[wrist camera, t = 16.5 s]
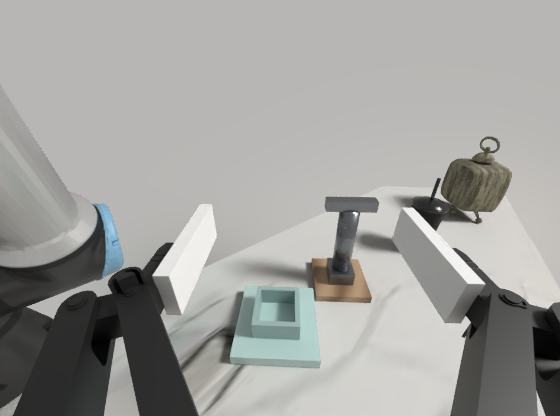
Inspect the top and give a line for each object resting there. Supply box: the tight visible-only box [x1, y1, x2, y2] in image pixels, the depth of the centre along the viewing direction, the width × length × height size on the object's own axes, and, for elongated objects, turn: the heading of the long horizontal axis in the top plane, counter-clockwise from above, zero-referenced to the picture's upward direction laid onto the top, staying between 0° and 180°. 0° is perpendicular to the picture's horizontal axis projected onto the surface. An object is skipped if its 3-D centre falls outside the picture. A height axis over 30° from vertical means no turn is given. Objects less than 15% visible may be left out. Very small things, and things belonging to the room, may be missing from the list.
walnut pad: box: [312, 258, 372, 303], centre depth 51 cm, size 11×11×2 cm
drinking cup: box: [412, 178, 449, 231], centre depth 56 cm, size 8×8×20 cm
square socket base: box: [230, 286, 321, 368], centre depth 41 cm, size 14×14×6 cm
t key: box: [325, 197, 379, 286], centre depth 46 cm, size 9×5×19 cm, turn 88°
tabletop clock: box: [441, 137, 512, 223], centre depth 70 cm, size 14×9×25 cm, turn 176°
